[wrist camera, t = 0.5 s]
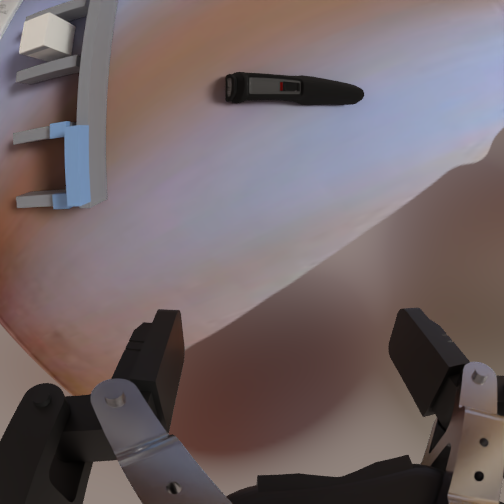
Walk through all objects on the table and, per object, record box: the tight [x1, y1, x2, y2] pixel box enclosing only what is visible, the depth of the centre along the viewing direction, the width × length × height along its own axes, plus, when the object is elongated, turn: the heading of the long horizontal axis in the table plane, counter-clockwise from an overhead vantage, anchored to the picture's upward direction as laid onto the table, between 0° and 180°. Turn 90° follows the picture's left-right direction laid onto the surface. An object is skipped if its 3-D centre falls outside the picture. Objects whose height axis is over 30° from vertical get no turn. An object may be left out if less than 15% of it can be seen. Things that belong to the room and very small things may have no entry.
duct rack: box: [13, 0, 118, 209], centre depth 28 cm, size 27×13×7 cm, turn 178°
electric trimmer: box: [226, 72, 364, 105], centre depth 31 cm, size 4×16×3 cm, turn 89°
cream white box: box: [19, 12, 76, 62], centre depth 25 cm, size 4×4×7 cm
